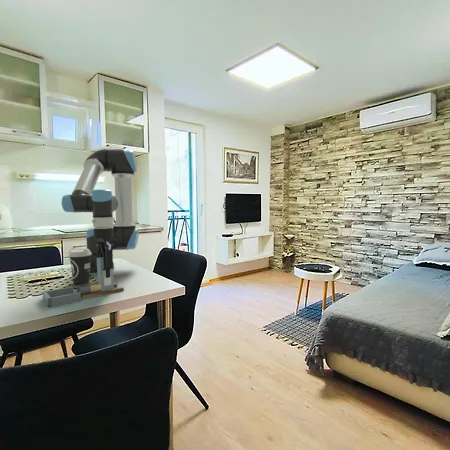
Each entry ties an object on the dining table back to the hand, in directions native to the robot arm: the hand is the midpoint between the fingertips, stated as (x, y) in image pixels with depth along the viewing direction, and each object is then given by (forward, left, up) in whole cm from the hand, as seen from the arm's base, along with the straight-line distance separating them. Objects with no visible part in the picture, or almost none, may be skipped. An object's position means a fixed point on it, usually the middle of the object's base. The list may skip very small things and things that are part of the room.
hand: (105, 283), depth 122 cm
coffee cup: (-20, -4, -3) cm, 21 cm away
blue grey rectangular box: (0, 0, -2) cm, 2 cm away
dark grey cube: (0, -9, -3) cm, 9 cm away
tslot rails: (0, -2, -3) cm, 4 cm away
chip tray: (0, -16, -3) cm, 17 cm away
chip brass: (0, -4, -3) cm, 5 cm away
